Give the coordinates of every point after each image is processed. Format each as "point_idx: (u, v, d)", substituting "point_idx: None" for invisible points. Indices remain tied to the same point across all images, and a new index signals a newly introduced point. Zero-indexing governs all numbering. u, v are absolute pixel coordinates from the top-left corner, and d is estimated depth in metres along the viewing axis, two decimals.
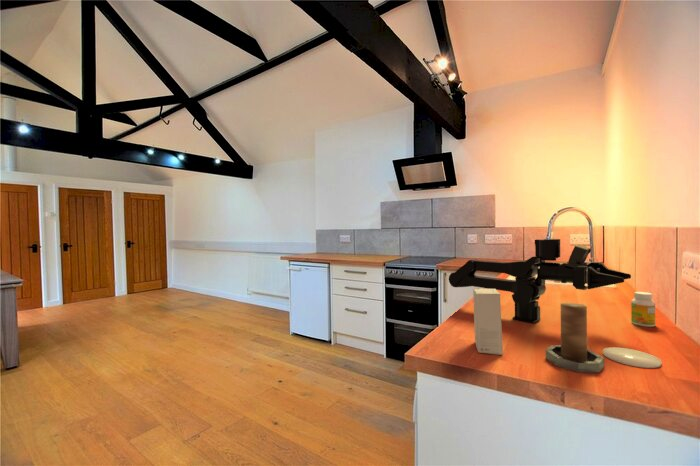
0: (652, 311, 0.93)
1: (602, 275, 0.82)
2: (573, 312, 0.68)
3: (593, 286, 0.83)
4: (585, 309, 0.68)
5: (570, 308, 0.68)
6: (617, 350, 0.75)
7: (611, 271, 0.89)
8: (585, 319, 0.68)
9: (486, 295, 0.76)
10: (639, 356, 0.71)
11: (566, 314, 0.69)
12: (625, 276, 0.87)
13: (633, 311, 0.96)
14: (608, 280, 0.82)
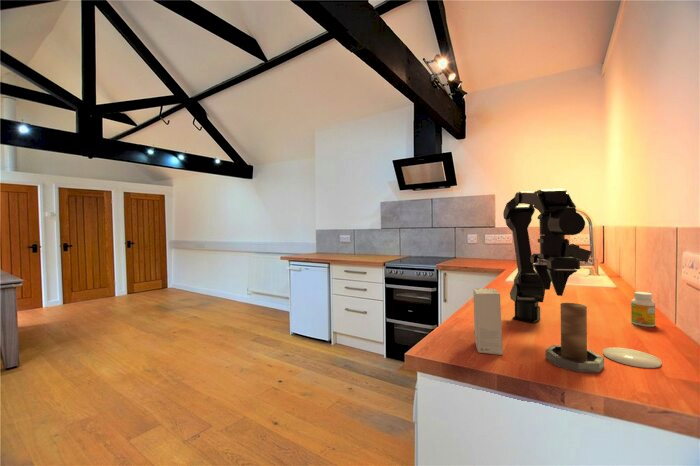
0: (652, 311, 0.93)
1: (565, 280, 0.78)
2: (573, 312, 0.68)
3: (552, 273, 0.78)
4: (585, 309, 0.68)
5: (570, 308, 0.68)
6: (617, 350, 0.75)
7: None
8: (585, 319, 0.68)
9: (486, 295, 0.76)
10: (639, 356, 0.71)
11: (566, 314, 0.69)
12: (547, 285, 0.88)
13: (633, 311, 0.96)
14: (559, 284, 0.79)
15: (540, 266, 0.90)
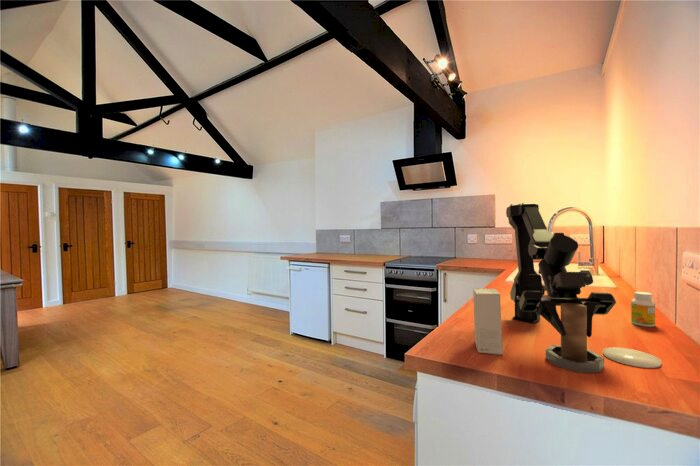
0: (652, 311, 0.93)
1: (552, 315, 0.72)
2: (573, 312, 0.68)
3: (543, 315, 0.75)
4: (585, 309, 0.68)
5: (570, 308, 0.68)
6: (617, 350, 0.75)
7: None
8: (585, 319, 0.68)
9: (486, 295, 0.76)
10: (639, 356, 0.71)
11: (566, 314, 0.69)
12: (587, 331, 0.69)
13: (633, 311, 0.96)
14: (553, 323, 0.72)
15: None
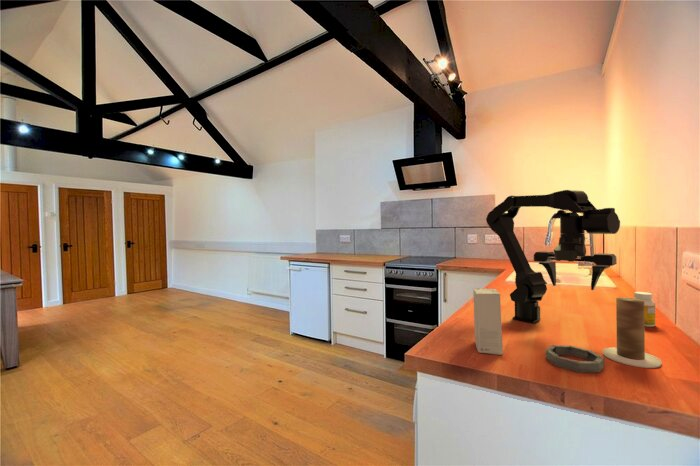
0: (652, 311, 0.93)
1: None
2: (633, 306, 0.69)
3: None
4: (643, 303, 0.70)
5: (630, 302, 0.70)
6: None
7: (592, 275, 0.85)
8: None
9: (486, 295, 0.76)
10: None
11: (626, 308, 0.70)
12: None
13: None
14: None
15: None
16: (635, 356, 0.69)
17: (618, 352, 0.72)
